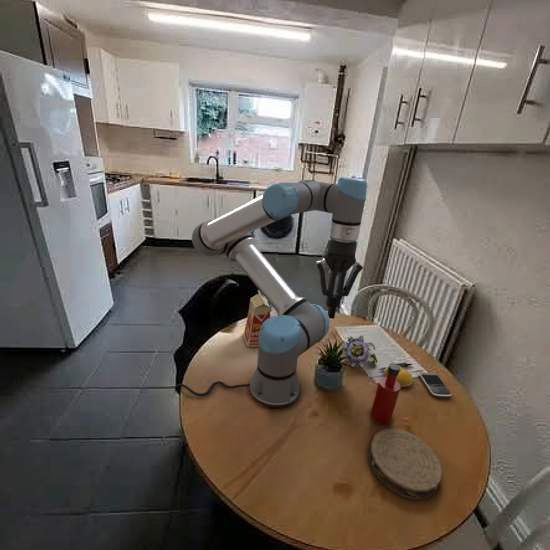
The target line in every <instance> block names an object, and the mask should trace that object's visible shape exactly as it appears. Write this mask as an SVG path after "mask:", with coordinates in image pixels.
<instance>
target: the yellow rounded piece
mask: <svg viewBox="0 0 550 550" xmlns="http://www.w3.org/2000/svg"><path fill="white" fill-rule="evenodd" d="M397 365H398V364H397ZM398 366H399V367H400V371H399V374H398V376H397V378H396V381H397V382H398V383H399V384H400V386H401V388H407V387H410V386H411V385H412V384H413V382H414V377H413V375H412V373H411V372H410V371H409V370H408V369H403V368H402V367H401V366H400V365H398ZM388 367H389V365H388V366H387V367H385V368H384V370H383V374H384V377H387V374H388Z"/></svg>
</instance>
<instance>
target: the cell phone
mask: <svg viewBox="0 0 550 550" xmlns="http://www.w3.org/2000/svg"><path fill="white" fill-rule="evenodd" d="M418 376H419V377H420V379H421V381H422V382H423V384H424V385H425V387H426V388H427V390H428V392H429V393H430V394H431V396H432V397H434V398H451V397H452V393H451V392H450V390H449V389H448V387H447V386H446V384H444V382H443V381H442V379H441V378H440V377H439V375H438V374H437V372H436V373H435V372H418Z"/></svg>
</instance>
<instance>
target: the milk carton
mask: <svg viewBox="0 0 550 550" xmlns="http://www.w3.org/2000/svg"><path fill="white" fill-rule="evenodd" d="M257 292H258V293H256V294H255V295H254V296H252V297H250V299H249V308H248V313H247V317H246V323H245V327H244V331H243V334H242V335H243V338H244V341H245V343H246V345H247V348H248V347H249V348H250V347H255V348H256V347H257V348H258V344H259V341H258V338H259V333H260V328H261V325H262V324H263V322H264V321H265V320H267V319H268V318H270V317H272V316H271V315H272V313H271V305H269V302H268V300H267V299H266V298H265V297H264V295H263V294H262V293H261V292H260V290H259V289H257Z"/></svg>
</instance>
